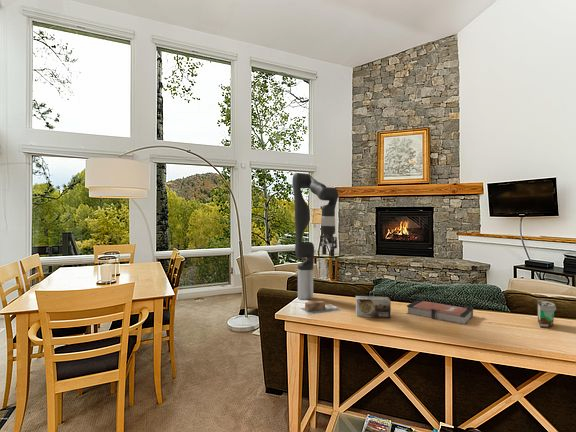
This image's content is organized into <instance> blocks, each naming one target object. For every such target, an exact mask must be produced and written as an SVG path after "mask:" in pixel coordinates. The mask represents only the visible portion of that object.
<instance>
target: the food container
mask: <svg viewBox="0 0 576 432" xmlns="http://www.w3.org/2000/svg"><path fill="white" fill-rule="evenodd" d="M556 311H557V306H556V304H555V303H553V302H551V301H546V300H541V299H537V324H538V325H539V328H541V329H542V328H543V329H553V328H552V327H554V320H555V318H554V317H555V312H556Z"/></svg>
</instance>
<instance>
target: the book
mask: <svg viewBox="0 0 576 432" xmlns="http://www.w3.org/2000/svg"><path fill="white" fill-rule="evenodd" d="M406 307H407V313H406V314H408V315H410V316H411V315H412V316H417V317H423V318H425V319H426V318H427V319H432V320H437V321H443V322H449V323H453V324H457V325H462V326H463V325H464V326H465V325H466V324H467V323H469V321H470V320H471V319H472V318H473V317H474V306H469V305H465V306H458V305H452V304H445V303H438V302H432V301H427V300H426V299H425V298H419V297H418V298H416V300H415V301H413V302H411V303H409V304H407V305H406Z"/></svg>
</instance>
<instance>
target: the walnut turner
mask: <svg viewBox="0 0 576 432" xmlns="http://www.w3.org/2000/svg"><path fill="white" fill-rule="evenodd" d="M304 304H305V305H304V308H305V311H307V312H311V311H319V310H327V311H330V310H337V308H338V307H337V306H335V305H333V304H331V303H329V304H326V301H324V300H317V301H316V300H315V301H308V302H307V301H305V302H304ZM305 311H304V312H305ZM307 312H306V313H307Z"/></svg>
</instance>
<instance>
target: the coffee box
mask: <svg viewBox="0 0 576 432" xmlns="http://www.w3.org/2000/svg"><path fill="white" fill-rule="evenodd" d="M391 301H392V300H391V299H390V297H389V296H373V295H372V296H370V295H355V315H356V317H361V318H362V317H363V318H366V319H367V318H370V319H371V318H373V319H374V318H375V319H392V318H391V316H392V315H391V313H392V311H391V308H392V307H391V306H392V305H391V303H392V302H391Z"/></svg>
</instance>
